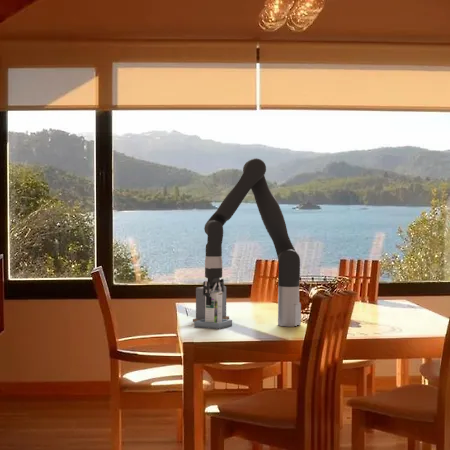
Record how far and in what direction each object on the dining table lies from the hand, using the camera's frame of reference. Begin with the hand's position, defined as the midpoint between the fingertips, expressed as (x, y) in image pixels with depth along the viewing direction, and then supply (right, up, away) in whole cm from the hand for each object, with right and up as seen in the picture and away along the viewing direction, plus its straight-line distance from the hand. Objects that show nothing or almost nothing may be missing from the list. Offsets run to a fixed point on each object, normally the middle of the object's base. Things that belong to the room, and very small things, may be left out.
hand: (213, 304), depth 357 cm
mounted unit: (-1, -9, +19) cm, 21 cm away
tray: (0, -10, 0) cm, 10 cm away
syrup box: (0, -9, +1) cm, 9 cm away
